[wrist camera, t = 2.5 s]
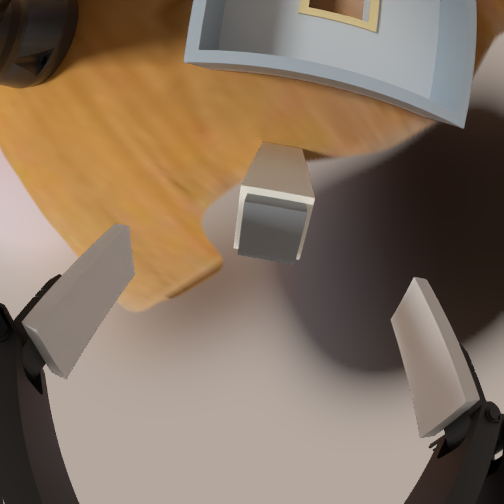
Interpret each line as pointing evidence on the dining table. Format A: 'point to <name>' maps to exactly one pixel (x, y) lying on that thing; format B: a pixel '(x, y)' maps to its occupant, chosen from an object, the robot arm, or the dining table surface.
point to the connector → (274, 205)
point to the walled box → (348, 48)
